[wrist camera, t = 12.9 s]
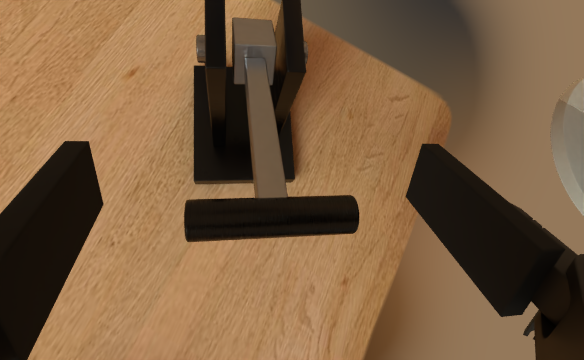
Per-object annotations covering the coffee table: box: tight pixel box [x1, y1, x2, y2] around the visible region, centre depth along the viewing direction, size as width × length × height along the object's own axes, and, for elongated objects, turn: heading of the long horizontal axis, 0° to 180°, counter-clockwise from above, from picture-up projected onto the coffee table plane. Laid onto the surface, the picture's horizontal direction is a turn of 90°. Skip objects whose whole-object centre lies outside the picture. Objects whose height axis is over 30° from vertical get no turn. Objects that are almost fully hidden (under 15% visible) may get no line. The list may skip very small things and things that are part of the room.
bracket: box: [194, 0, 308, 184], centre depth 24 cm, size 10×8×13 cm
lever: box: [184, 18, 359, 242], centre depth 16 cm, size 13×6×2 cm, turn 4°
